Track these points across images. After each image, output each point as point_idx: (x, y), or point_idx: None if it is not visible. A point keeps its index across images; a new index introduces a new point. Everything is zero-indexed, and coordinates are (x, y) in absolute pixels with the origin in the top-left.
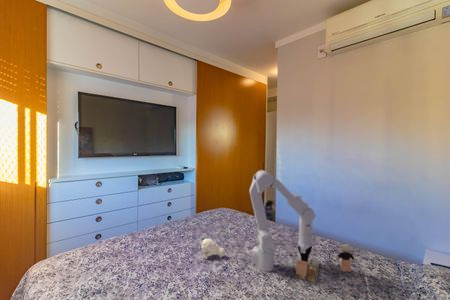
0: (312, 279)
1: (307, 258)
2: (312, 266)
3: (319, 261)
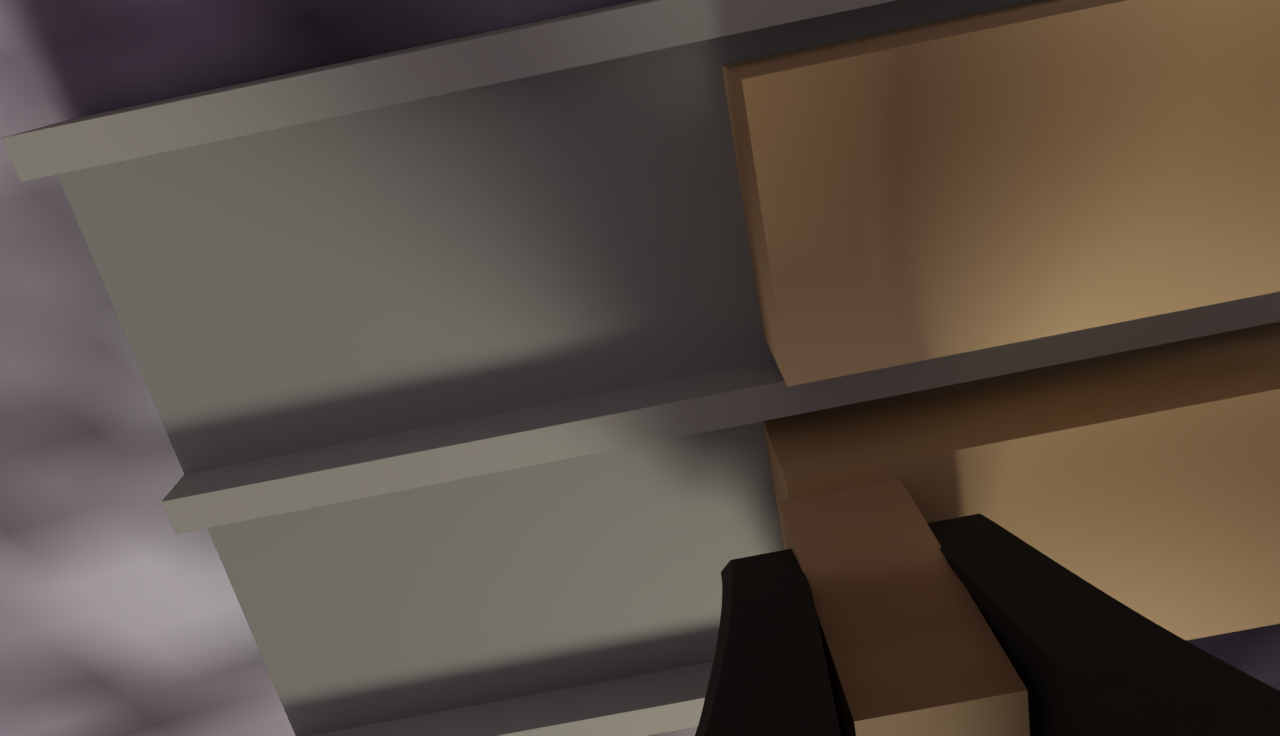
0: None
1: (1220, 671)
2: (959, 241)
3: (47, 139)
